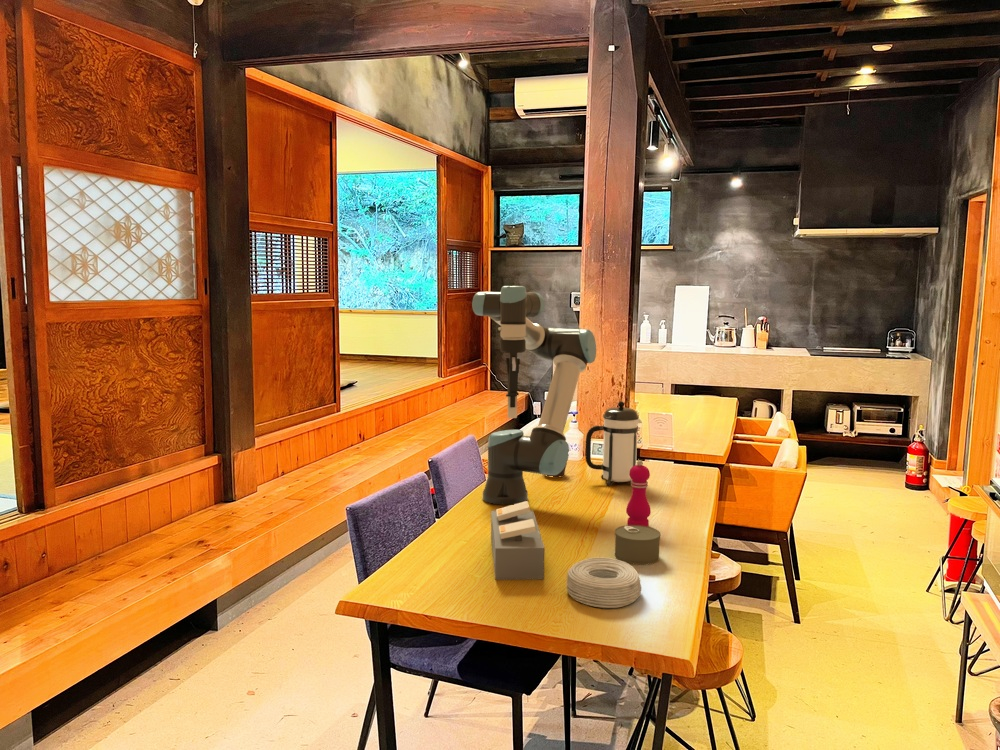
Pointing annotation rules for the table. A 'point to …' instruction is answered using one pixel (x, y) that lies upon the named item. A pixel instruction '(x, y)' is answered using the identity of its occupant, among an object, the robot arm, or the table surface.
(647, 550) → the can
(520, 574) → the rocker switch box
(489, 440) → the robot arm
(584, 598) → the cable
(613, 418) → the coffee press
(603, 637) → the table surface
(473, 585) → the table surface
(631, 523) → the pepper mill
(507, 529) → the rocker
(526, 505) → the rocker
